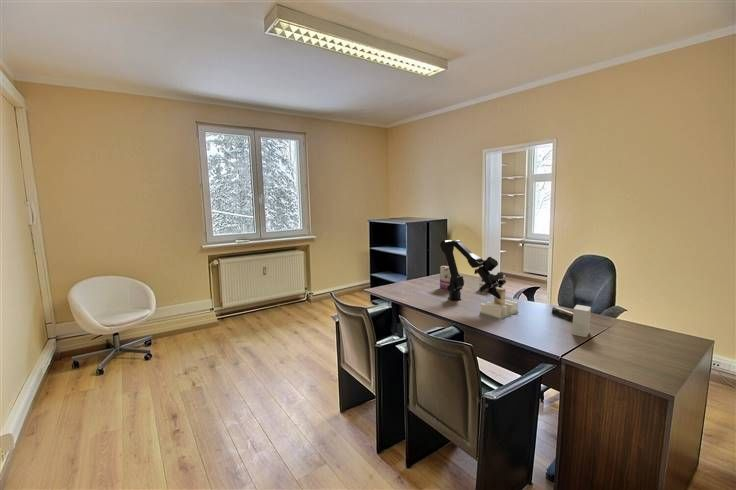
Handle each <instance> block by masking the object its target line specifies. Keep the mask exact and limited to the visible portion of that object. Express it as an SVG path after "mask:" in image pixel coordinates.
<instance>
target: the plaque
mask: <svg viewBox="0 0 736 490" xmlns="http://www.w3.org/2000/svg"><path fill="white" fill-rule="evenodd" d="M496 291H497V292H498V294H499V295H500V297H501V298H500V299H498V298H497V297H495V296H493V298H494V299H493V300H494V303H495V304H499V305H503V306H505V299H506V291H507V290H506V288H504V287H502V288H500V287H496Z"/></svg>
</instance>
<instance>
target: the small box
mask: <svg viewBox="0 0 736 490" xmlns="http://www.w3.org/2000/svg"><path fill="white" fill-rule="evenodd" d="M591 312H592V307H591V306H588V305H582V304H576V305H575V306H574V307H573V321H572V328H571V329H572V330H571V335H574V336H578V337H583V338H588V335H589V333H590V329H591V328H590V324H591V315H592V314H591Z"/></svg>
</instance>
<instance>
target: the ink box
mask: <svg viewBox="0 0 736 490" xmlns="http://www.w3.org/2000/svg"><path fill="white" fill-rule="evenodd" d="M478 277H479V278H478V279H479V281H478V282H479V283H478V290H480V287H482V286H483V285H484V284H485V282H482V281H481V280H482V278H481V277H480V275H479V274H478ZM487 291H488V290H487V289H486V290H485V292H487Z"/></svg>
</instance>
